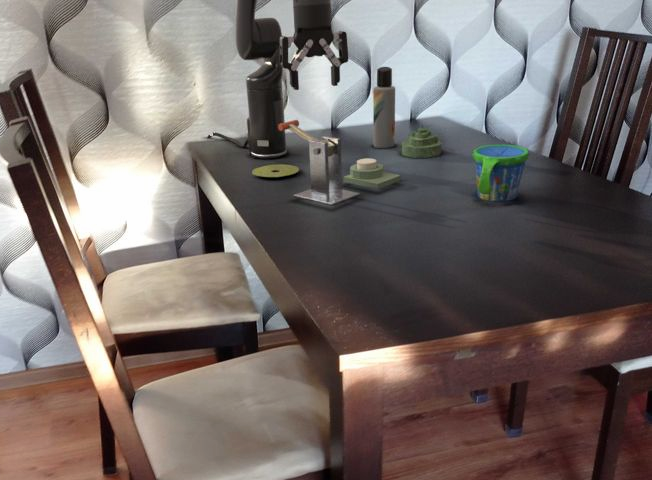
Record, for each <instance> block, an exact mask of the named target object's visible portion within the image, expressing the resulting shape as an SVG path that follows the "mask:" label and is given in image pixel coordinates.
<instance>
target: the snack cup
mask: <svg viewBox="0 0 652 480" xmlns="http://www.w3.org/2000/svg"><path fill="white" fill-rule="evenodd" d="M529 154H530V152H529V150H528V149H527V148H526V147H523V146H519V145H513V144H488V145H482V146H479V147H476V148H475V149H474V150H473V153H472V158H473V160H474V163H475V179H476V188H477V193H476V194H477V197H478V198H479V199H481V200H484V201H488V202H508V201H511V200H516V198H517V196H518V192H519V188H520V184H521V181H522V177H523V172H524V168H525V165H526V162H527V160H528V158H529V156H530V155H529Z"/></svg>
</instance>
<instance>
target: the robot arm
mask: <svg viewBox="0 0 652 480" xmlns="http://www.w3.org/2000/svg"><path fill="white" fill-rule="evenodd" d="M331 1H332V0H292V5H293V6H292V10H293V28H294V33H293V36H285V35H283V32H282V28H281V25H280V23H279V21H278V20H277V19H276V18H274V17H260V18H255V17H256V11H257V4H258V0H237V2H236V18H235V44H236V45H235V46H236V50H237V53H238V56H239V57H240V59H242V60H243V61H256V60H263V61H262V64H261V65H260V67H259V68H258V69H256V70H255V71H254V72H252V73H250V74H248V75H247V76H246V78H245V87H246V96H247V97H246V99H247V105H248V107H247V108H248V109H247V110H248V117H247V118H246V127H247V135H246V136H247V138H246V139H245V140H244V143H242V142H240V141H238V140H236V139H234V138H233V137H230V136H227V135H224V134H222V133H219V132H215V131H214V132H215V133H214V132H212V133H213V136H210V135H209V134H208V135H207V137H206V139H209V140H210V139H211V138H213V137H219V138H221V139H223V140H225V141H229V142H231V143H232V144H235V145H237V146H238V147H239V148H242V149H244V148H247V146H248V149H249V155H250V156H251V157H253V158H255V159H261V160H263V159H264V160H267V159H269V160H270V159H276V158H277V159H278V158H282V157H284V156H286V155H287V154H288V149H287V140H286V137H287V136H286V130H283V131H280V130H279V129H278V125H279V124H282V123H285V122H286V121H285V107H284V106H285V105H284V104H285V103H284V91H283V78H284V69H286V70H288V72H289V73H288V74H289V85H290V87H291V88H292V89H293V90H294V91H299V89H300V83H299V81H300V80H299V70H297V69H298V68H299V66H300V64H301V63H302V62H303V60H304V59H305V58H314V57H323V56H324V57H325V58H326V59H327V60H328V62H329V63H330V64H331V66H330V83H331V86H333V87H338V85H339V83H340V82H341V66H342V65H343V64H346V63H348V62H349V48H348V47H349V46H348V45H349V44H348V34H347V32H346V31H343V30H339V31H337V32H333V30H332V4H331ZM333 41H335V43H336V44H337V46H338V47H337V49H338V57H337V56H336V54H335V52H334V50H333V49H332V48H331V47H330V46H331V45H332V43H333ZM292 44H294V46H295V47H296V50H295V52H294V54H293V55H292V58H291V60H290V62H289V49H290V48H291V47H292Z"/></svg>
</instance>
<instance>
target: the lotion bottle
mask: <svg viewBox="0 0 652 480" xmlns="http://www.w3.org/2000/svg"><path fill="white" fill-rule="evenodd" d="M372 90H373V94H372V95H373V98H372V99H373V118H372V120H373V123H372V124H373V125H372V126H373V127H372V128H373V130H372V131H373V132H372V133H373V134H372V135H373V140H372V141H373V147H374V148H376V149H390V148H393V147H395V142H396V141H395V138H396V133H395V132H396V86H394V85H393V68H391V67H390V66H380V67H378V68H377V69H376V86H374V87H373V89H372Z"/></svg>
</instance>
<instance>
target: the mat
mask: <svg viewBox="0 0 652 480" xmlns="http://www.w3.org/2000/svg"><path fill="white" fill-rule="evenodd" d="M299 171H300V168H299V167H298V166H295V165H292V164H279V163H278V164H269V165H264V166H260V167H256V168H254V169H253V170H252V171H251V173H252V175H253V176H257V177H263V178H280V177H286V176H291V175H294V174H296V173H298V172H299Z"/></svg>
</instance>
